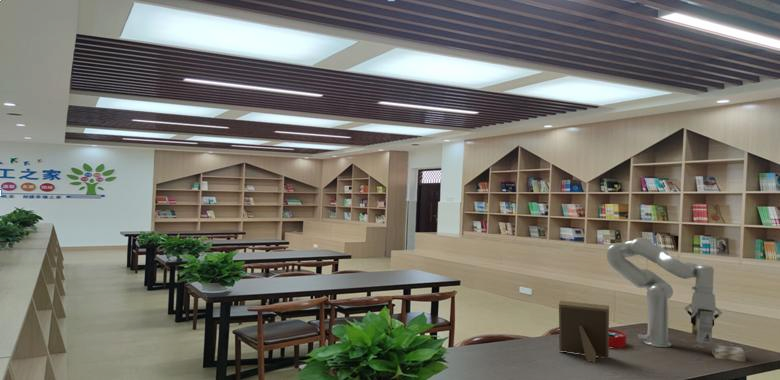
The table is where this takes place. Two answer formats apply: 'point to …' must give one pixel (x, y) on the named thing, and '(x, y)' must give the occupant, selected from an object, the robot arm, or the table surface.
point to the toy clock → (617, 339)
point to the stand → (728, 353)
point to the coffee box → (703, 326)
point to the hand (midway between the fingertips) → (702, 325)
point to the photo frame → (584, 329)
